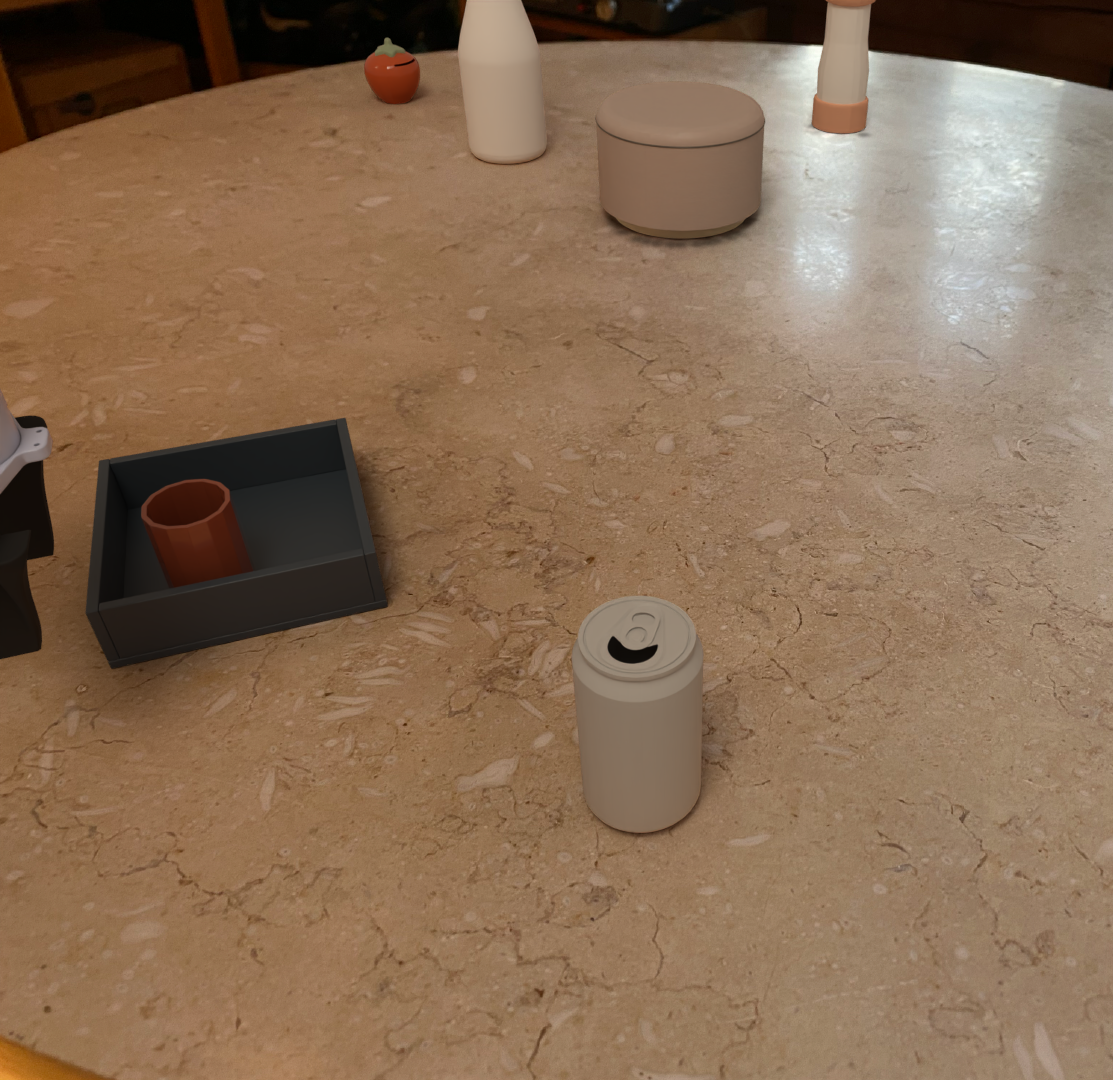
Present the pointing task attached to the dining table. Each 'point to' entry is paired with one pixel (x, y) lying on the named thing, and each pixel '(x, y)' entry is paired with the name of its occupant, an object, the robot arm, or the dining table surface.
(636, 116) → the container
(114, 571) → the bin
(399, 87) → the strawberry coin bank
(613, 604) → the beverage can
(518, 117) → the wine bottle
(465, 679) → the dining table surface
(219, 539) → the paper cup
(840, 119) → the pepper shaker
